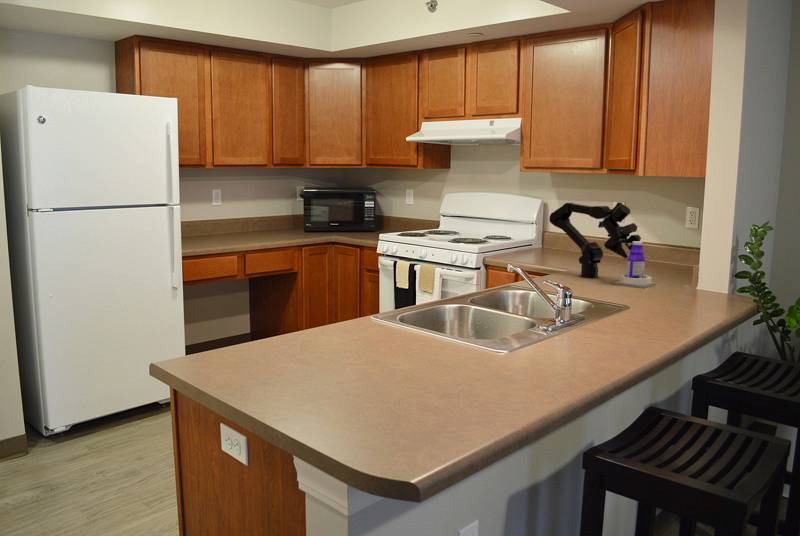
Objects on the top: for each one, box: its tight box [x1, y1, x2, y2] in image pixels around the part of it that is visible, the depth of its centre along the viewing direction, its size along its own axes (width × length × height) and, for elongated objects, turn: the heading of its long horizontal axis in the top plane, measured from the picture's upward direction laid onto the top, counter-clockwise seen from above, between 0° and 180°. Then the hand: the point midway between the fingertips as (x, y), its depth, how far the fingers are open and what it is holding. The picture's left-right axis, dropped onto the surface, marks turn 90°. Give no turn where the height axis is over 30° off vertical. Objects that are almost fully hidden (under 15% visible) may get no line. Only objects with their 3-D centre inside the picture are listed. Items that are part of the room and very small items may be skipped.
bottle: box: [625, 241, 646, 278], centre depth 286 cm, size 7×6×17 cm
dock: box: [613, 273, 657, 289], centre depth 287 cm, size 13×13×4 cm
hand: (633, 257), depth 287 cm, fingers open, 9 cm apart
